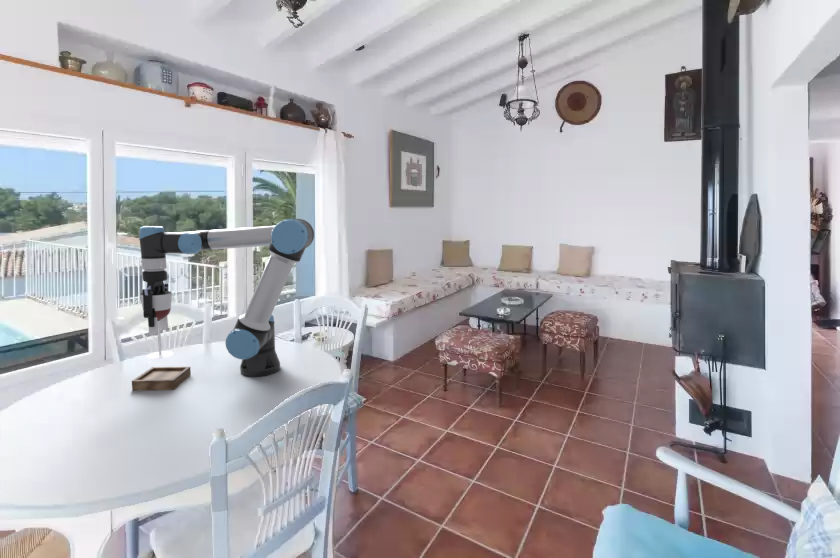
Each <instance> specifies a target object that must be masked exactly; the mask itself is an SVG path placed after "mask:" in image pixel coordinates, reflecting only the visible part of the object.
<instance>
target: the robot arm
mask: <svg viewBox="0 0 840 558" xmlns="http://www.w3.org/2000/svg"><path fill="white" fill-rule="evenodd" d="M314 239H315V231H314V228H313V226H312V224H311V223H310V222H308V221H307V220H305V219H302V218H285V219H283V220H281V221H279V222H278V223H277V224H276V225H266V226H263V225H262V226H252V227H251V226H249V227H235V228H220V229H219V228H218V229H210V230H209V229H205V230H202V229H201V230H195V231H194V230H192V231H181V232H176V231H175V232H168V231H165V228H164V226H158V225H155V226H154V225H151V226H149V225H144V226H140V228H139V239H138V240H139V244H140V245H139V246H140V248H139V249H140V259H141V260H140V263H141V270H142V273H141V274H142V282H145V283H147V285H146V288H144V289H142V290H141V293H143V308H142V310H143V313H142V314H143V318H144V319H147V323H148V325H147V326H148V335H149V337H150V336H151V337H152V336H154V337H155V336H156V337H158V325H157V317H155V315H156V313H155V308H152V296H155V295H165V291H169V283H164V282H165V281H167V280H168V271H167V270H166V269H167V268H168V267H167V266H168V265H167V256H166V254H179V255H182V254H184V255H190V254H191V255H193V254H194V255H195V254H198V253H200V251H210V250H211V251H212V250H224V249H225V250H227V249H240V248H241V249H242V248H253V247H256V248H257V247H268V248H267V249H268V252H269V258H268V260H267V263H266V264H265V267H264V269H263V272H262V274H261V276H260V279H259V280H258V283H257V284H256V288H255V290H254V292H253V295H252V297H251V299H250V300H249V304H248V306H247V309H246V311H245V313H243V314H241V315H238V318H237V320H236V323H235V325H234V327H233V329H232V330H231V331H230V332H229V333H228V335H227V336H226V339H225V348H226V350H227V351H228V353H229V354H230V356H232V357H234V358H235V359H238V360H241V363H240V366H239V369H240V371H239V372H240V373H241V375H243V376H246V377H265V376H268V375H269V376H270V375H272V374H276V373H277V372H279V371H280V370H281V362H280V360H279V357H278V354H277V351H276V341H275V339H276V337H275V336H276V335H275V332H276V331H275V317H274V315H273V312H274V311H275V307H276V306H277V303H278V301H279V299H280V296H281V294H282V292H283V290H284V287H285V286H286V282H287V280H288V278H289V276H290V273H291V272H292V268H293V267H294V265H295V264H297V263H299V262H301V259H302V257H303V255H304V253H305V250H306V249H307V248H308V247H310V246H311V245H312V243H313V241H314ZM168 320H169V319H168V315H167V316H166V317H164V318H163V319H161V320H160V331H168V330H169V321H168Z"/></svg>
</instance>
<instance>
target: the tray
mask: <svg viewBox="0 0 840 558" xmlns="http://www.w3.org/2000/svg"><path fill="white" fill-rule="evenodd" d="M191 373H192V371H191V366H152V367H150V368H149V369H147V370H146V371H144V372H142V374H140V375H138V376H137V377H136V378H134V379H133V380H131V388H132V389H131V391H174V390H176V389H177V388H178V387H179V386H180V385H181V384H183V383H184V382H185V381H187V379H189V378H190V377H191V376H192V374H191Z"/></svg>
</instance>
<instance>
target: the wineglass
mask: <svg viewBox="0 0 840 558" xmlns="http://www.w3.org/2000/svg"><path fill="white" fill-rule="evenodd" d="M172 293H173V292H172V291H169V290H168V291H165V295H155V296H152V308H155V313H156V315H155V317H157V325H158V335H157V345H158V351H155V352H152V353H149V354H147V355H146V358H147V359H151V360H152V359H153V360H154V359H156V360H157V359H163V358H168V357H172V356H173V355H174V354H175V353H174V351H169V350H162V338H161V336H162V335H161V330H160V320H161V319H163V318H164V317H166V316H167V317H168V315H170V312H171V310H172V309H171V308H172V299H173V298H172V297H173V296H172ZM139 296H140V301H141V302H140V303H141V307H142V309H143V293H142V292H141V293H140V295H139Z"/></svg>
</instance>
